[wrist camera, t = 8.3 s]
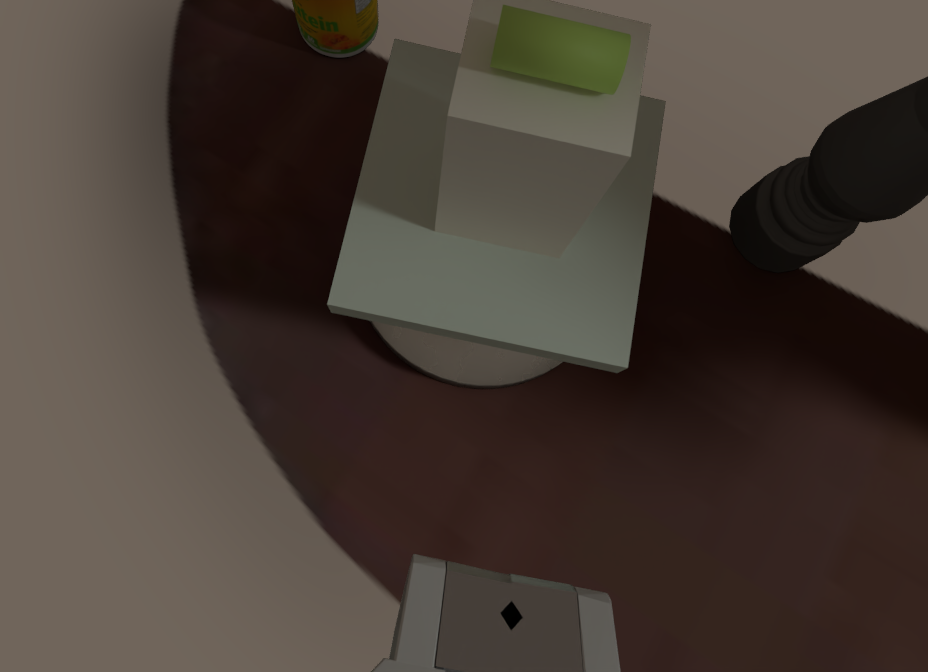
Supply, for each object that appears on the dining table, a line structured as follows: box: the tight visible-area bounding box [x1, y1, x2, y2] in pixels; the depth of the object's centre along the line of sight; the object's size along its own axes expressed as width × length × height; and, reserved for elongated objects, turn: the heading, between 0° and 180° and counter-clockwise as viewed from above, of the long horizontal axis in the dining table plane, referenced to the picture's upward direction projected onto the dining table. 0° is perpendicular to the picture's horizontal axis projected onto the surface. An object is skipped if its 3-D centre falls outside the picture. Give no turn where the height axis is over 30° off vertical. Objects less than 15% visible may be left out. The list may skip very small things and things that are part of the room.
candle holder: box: [729, 77, 928, 273], centre depth 31 cm, size 6×6×25 cm
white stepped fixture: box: [327, 0, 665, 373], centre depth 26 cm, size 14×14×13 cm
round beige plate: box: [370, 321, 563, 389], centre depth 37 cm, size 16×16×8 cm
